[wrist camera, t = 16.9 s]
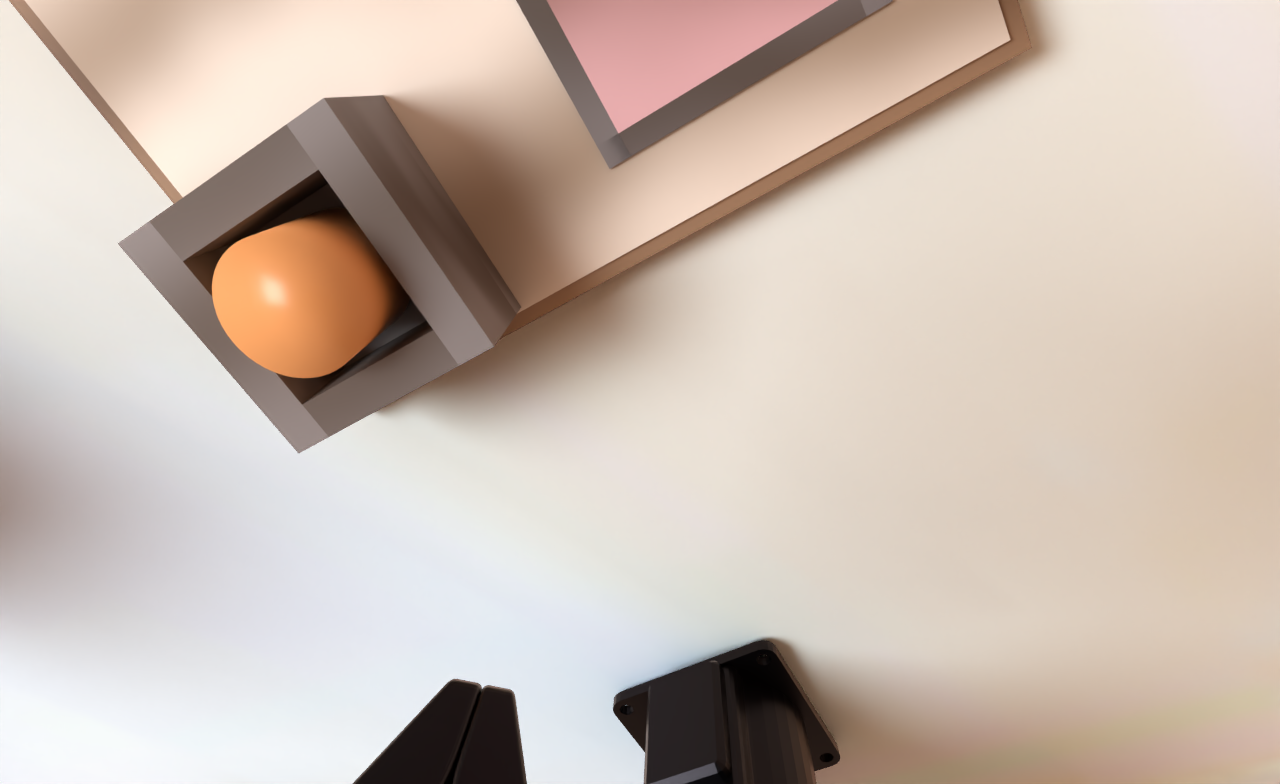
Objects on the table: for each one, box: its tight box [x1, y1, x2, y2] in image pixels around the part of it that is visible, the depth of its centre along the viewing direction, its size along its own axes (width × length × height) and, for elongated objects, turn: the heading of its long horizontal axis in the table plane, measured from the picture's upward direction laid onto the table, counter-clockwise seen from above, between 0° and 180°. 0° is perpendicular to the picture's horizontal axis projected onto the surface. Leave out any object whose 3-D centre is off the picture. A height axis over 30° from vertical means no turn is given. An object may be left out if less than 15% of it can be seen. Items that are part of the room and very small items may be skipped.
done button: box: [212, 208, 410, 378], centre depth 16 cm, size 3×3×3 cm
